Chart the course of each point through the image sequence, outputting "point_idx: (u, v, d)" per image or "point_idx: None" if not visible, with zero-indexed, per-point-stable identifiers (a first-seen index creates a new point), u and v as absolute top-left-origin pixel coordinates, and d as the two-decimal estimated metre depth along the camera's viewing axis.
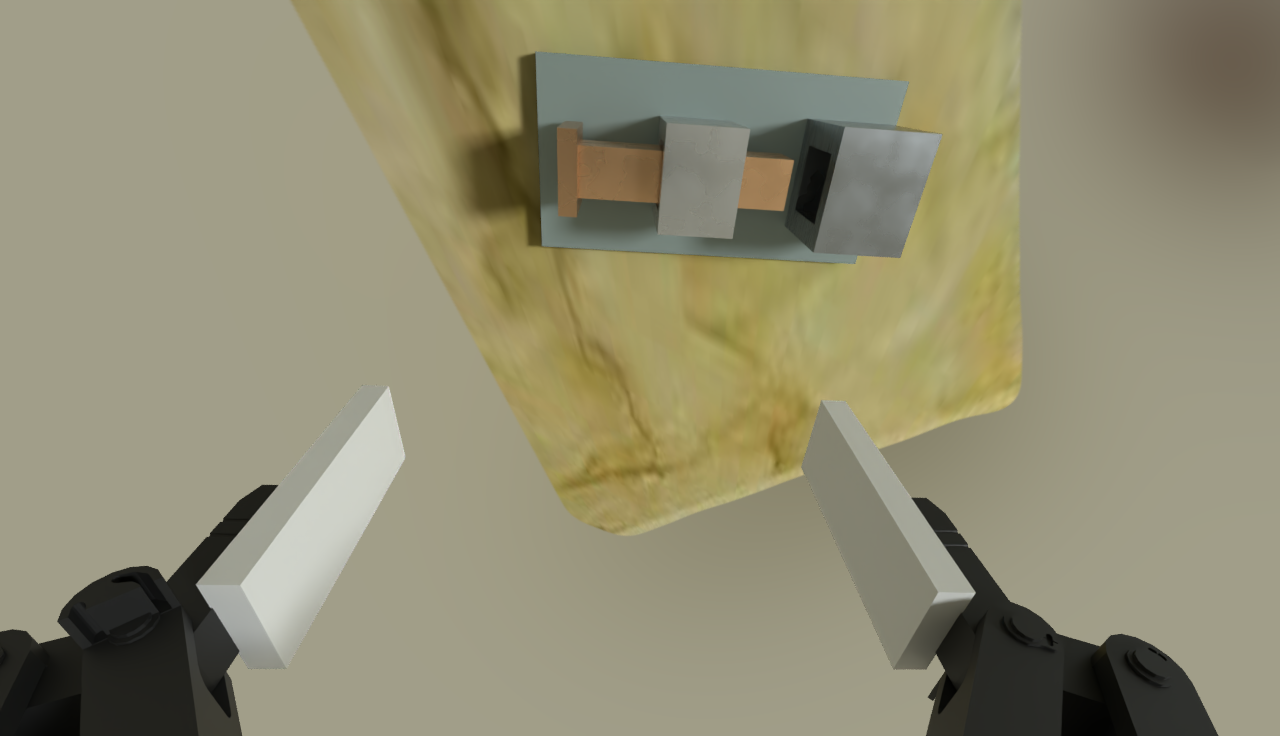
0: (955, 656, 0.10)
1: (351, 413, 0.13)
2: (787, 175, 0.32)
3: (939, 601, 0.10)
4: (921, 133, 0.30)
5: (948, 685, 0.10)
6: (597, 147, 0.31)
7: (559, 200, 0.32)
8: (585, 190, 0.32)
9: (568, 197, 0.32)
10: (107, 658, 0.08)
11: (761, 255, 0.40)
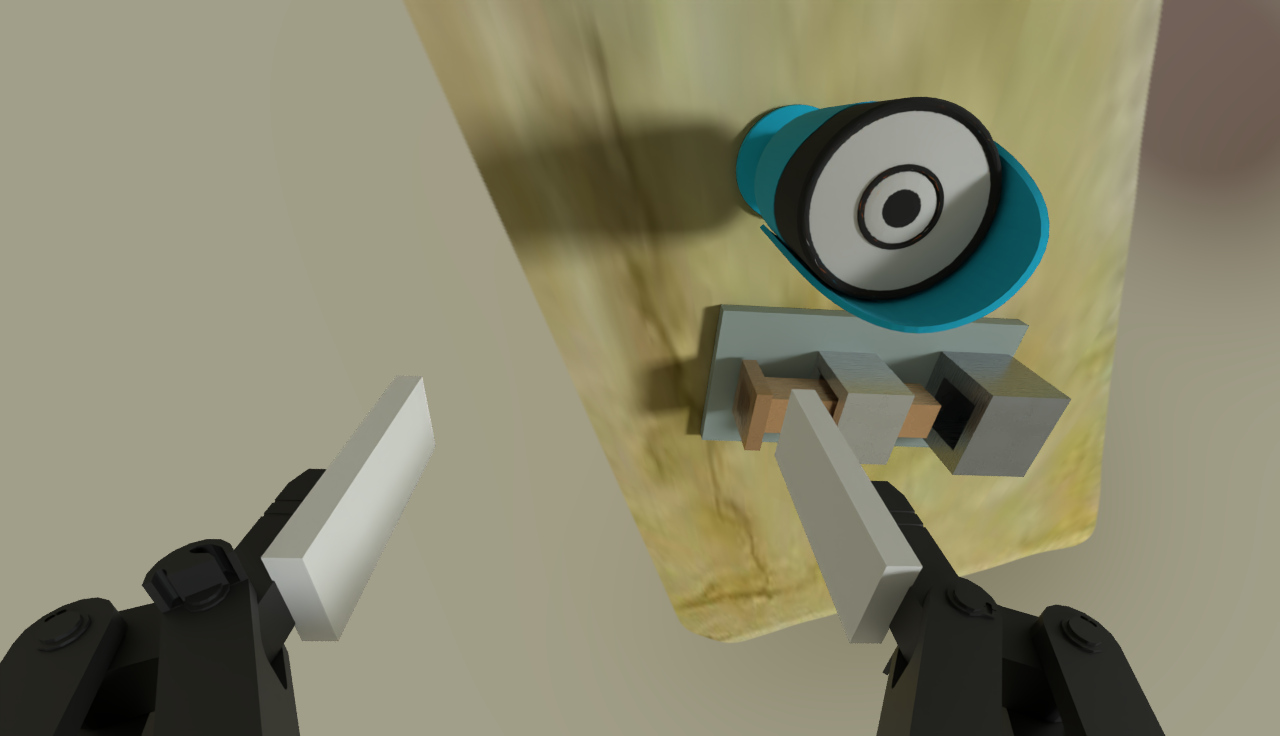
0: (905, 628, 0.10)
1: (389, 402, 0.14)
2: (934, 415, 0.39)
3: (888, 575, 0.10)
4: (1054, 398, 0.36)
5: (900, 659, 0.10)
6: (782, 400, 0.38)
7: (748, 440, 0.38)
8: (766, 427, 0.39)
9: (756, 438, 0.38)
10: (182, 623, 0.08)
11: None
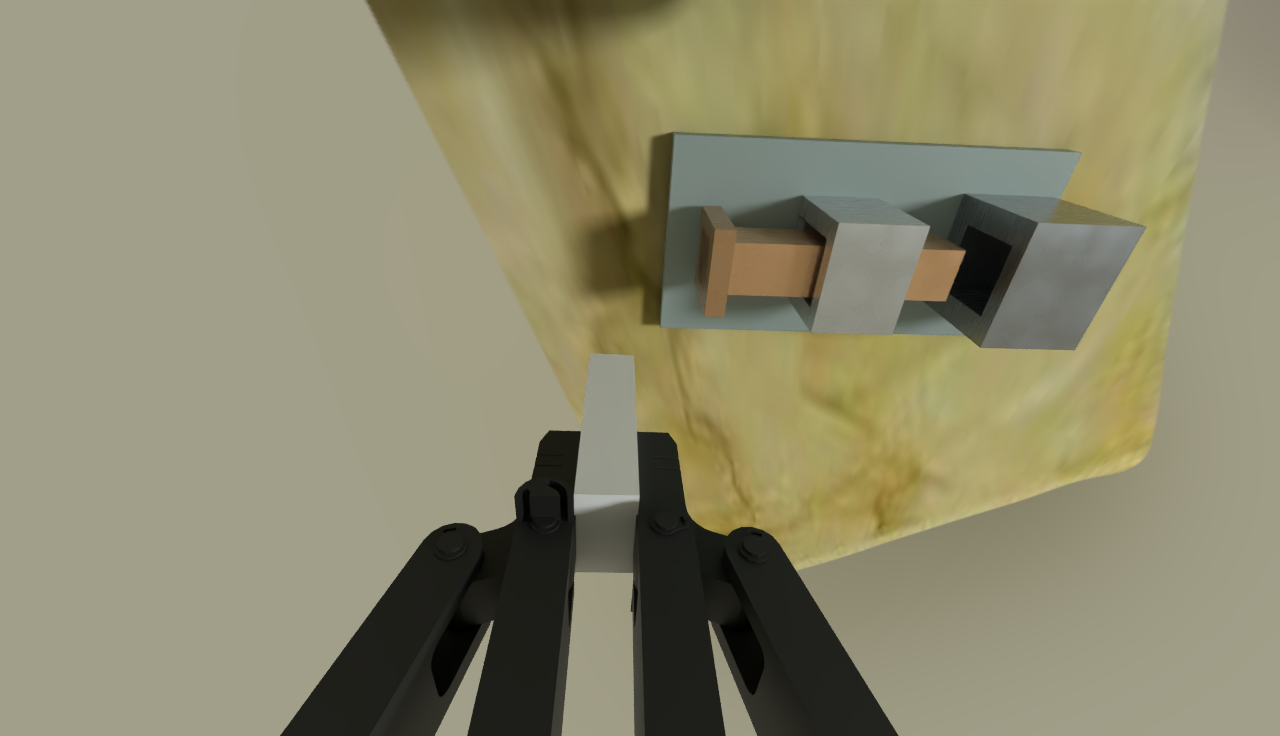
0: (634, 554, 0.12)
1: (598, 375, 0.16)
2: (955, 266, 0.29)
3: (612, 504, 0.11)
4: (1123, 226, 0.26)
5: (636, 596, 0.11)
6: (751, 244, 0.28)
7: (707, 301, 0.29)
8: (732, 287, 0.30)
9: (718, 298, 0.29)
10: (527, 537, 0.10)
11: (894, 330, 0.37)
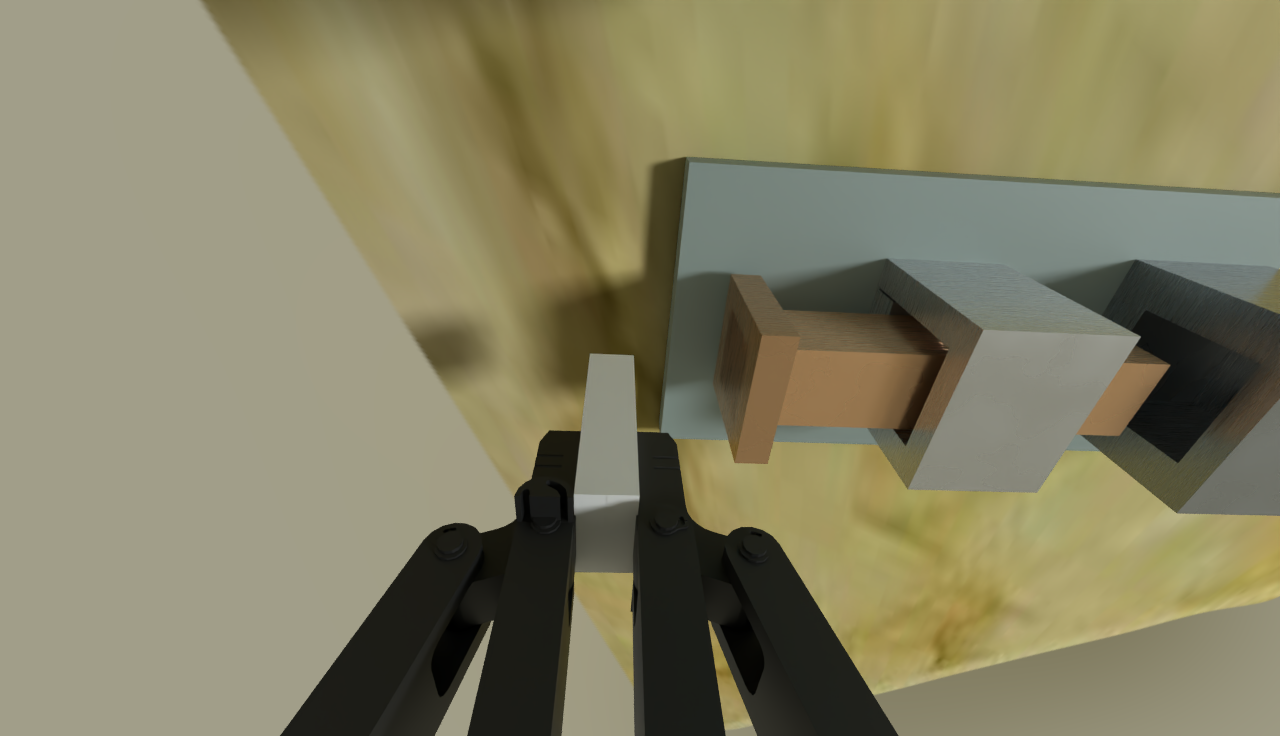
0: (634, 554, 0.12)
1: (598, 375, 0.16)
2: (1148, 387, 0.18)
3: (612, 504, 0.11)
4: None
5: (636, 596, 0.11)
6: (819, 352, 0.17)
7: (741, 441, 0.17)
8: (781, 414, 0.18)
9: (759, 437, 0.17)
10: (527, 537, 0.10)
11: None
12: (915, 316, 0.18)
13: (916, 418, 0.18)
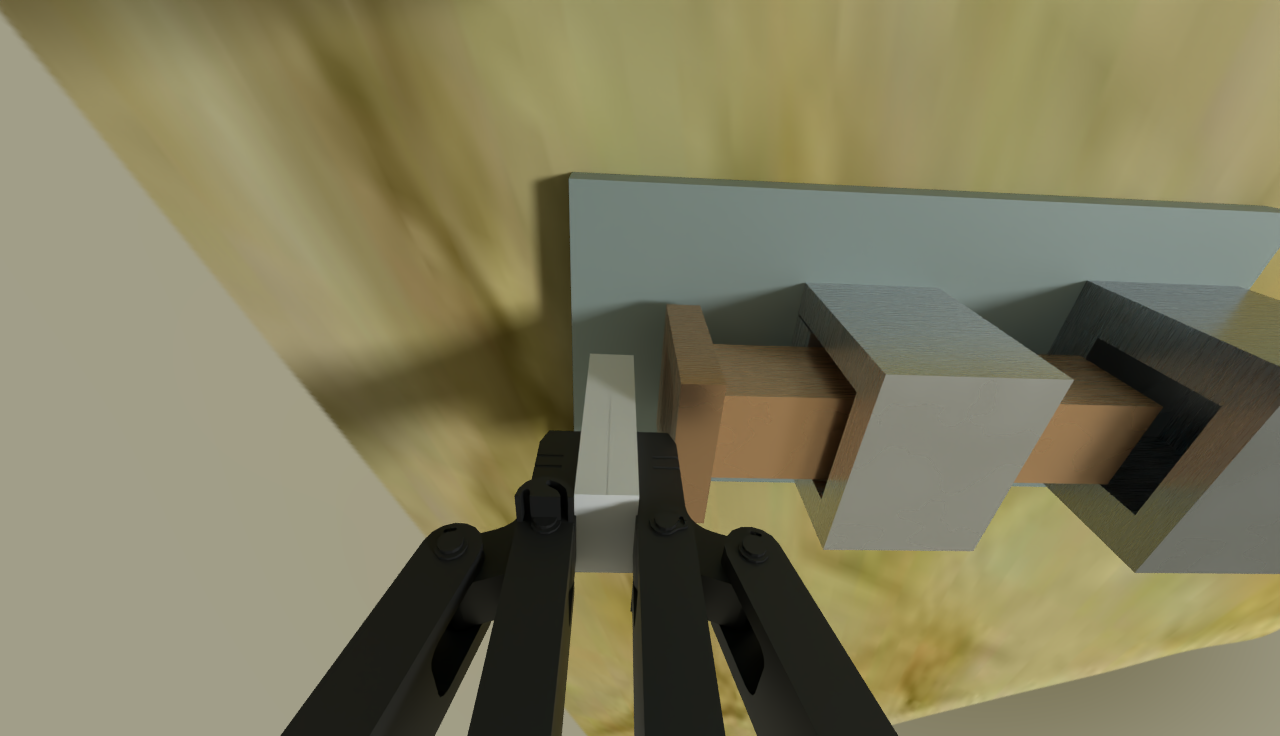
0: (634, 553, 0.12)
1: (598, 375, 0.16)
2: (1138, 431, 0.16)
3: (612, 504, 0.11)
4: None
5: (636, 596, 0.11)
6: (755, 398, 0.14)
7: None
8: (719, 465, 0.16)
9: (691, 495, 0.15)
10: (527, 537, 0.10)
11: None
12: (828, 351, 0.16)
13: None
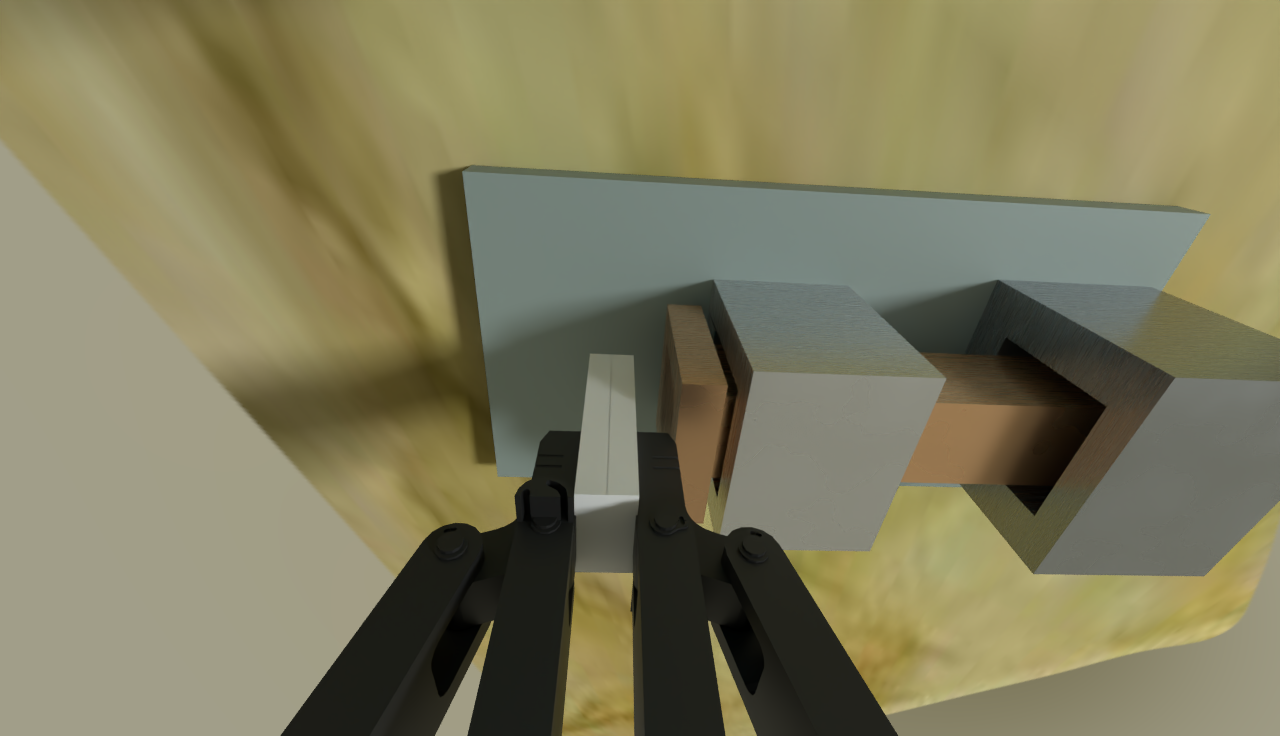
0: (634, 554, 0.12)
1: (598, 375, 0.16)
2: None
3: (612, 504, 0.11)
4: None
5: (636, 595, 0.11)
6: None
7: None
8: (719, 466, 0.16)
9: (690, 495, 0.15)
10: (527, 537, 0.10)
11: None
12: (724, 348, 0.16)
13: None
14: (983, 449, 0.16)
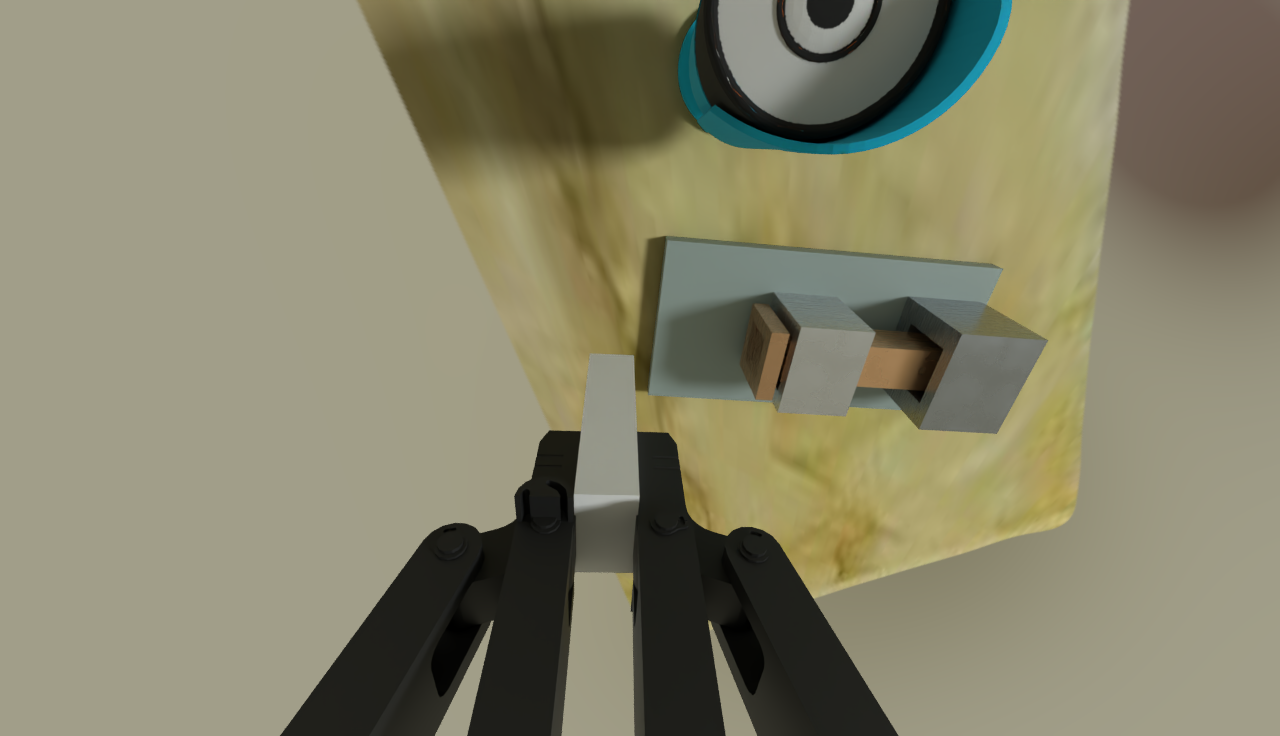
0: (634, 554, 0.12)
1: (598, 375, 0.16)
2: None
3: (612, 504, 0.11)
4: (1029, 339, 0.32)
5: (636, 596, 0.11)
6: None
7: (759, 387, 0.34)
8: (779, 375, 0.35)
9: (768, 385, 0.34)
10: (527, 537, 0.10)
11: (851, 404, 0.43)
12: (782, 322, 0.35)
13: None
14: (896, 370, 0.35)
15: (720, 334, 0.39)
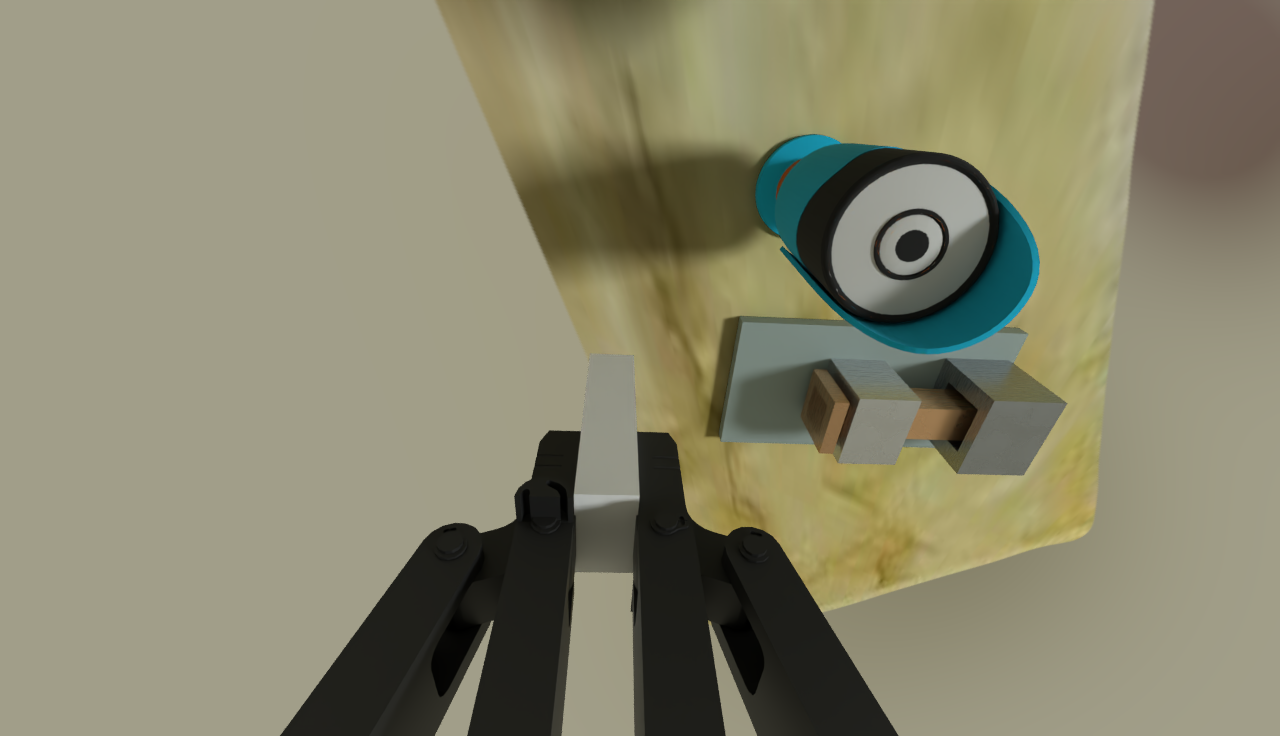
0: (634, 554, 0.12)
1: (598, 375, 0.16)
2: None
3: (612, 504, 0.11)
4: (1051, 403, 0.39)
5: (636, 596, 0.11)
6: None
7: (823, 444, 0.41)
8: None
9: (830, 442, 0.41)
10: (527, 537, 0.10)
11: None
12: (840, 388, 0.42)
13: None
14: (937, 426, 0.42)
15: (783, 392, 0.46)
